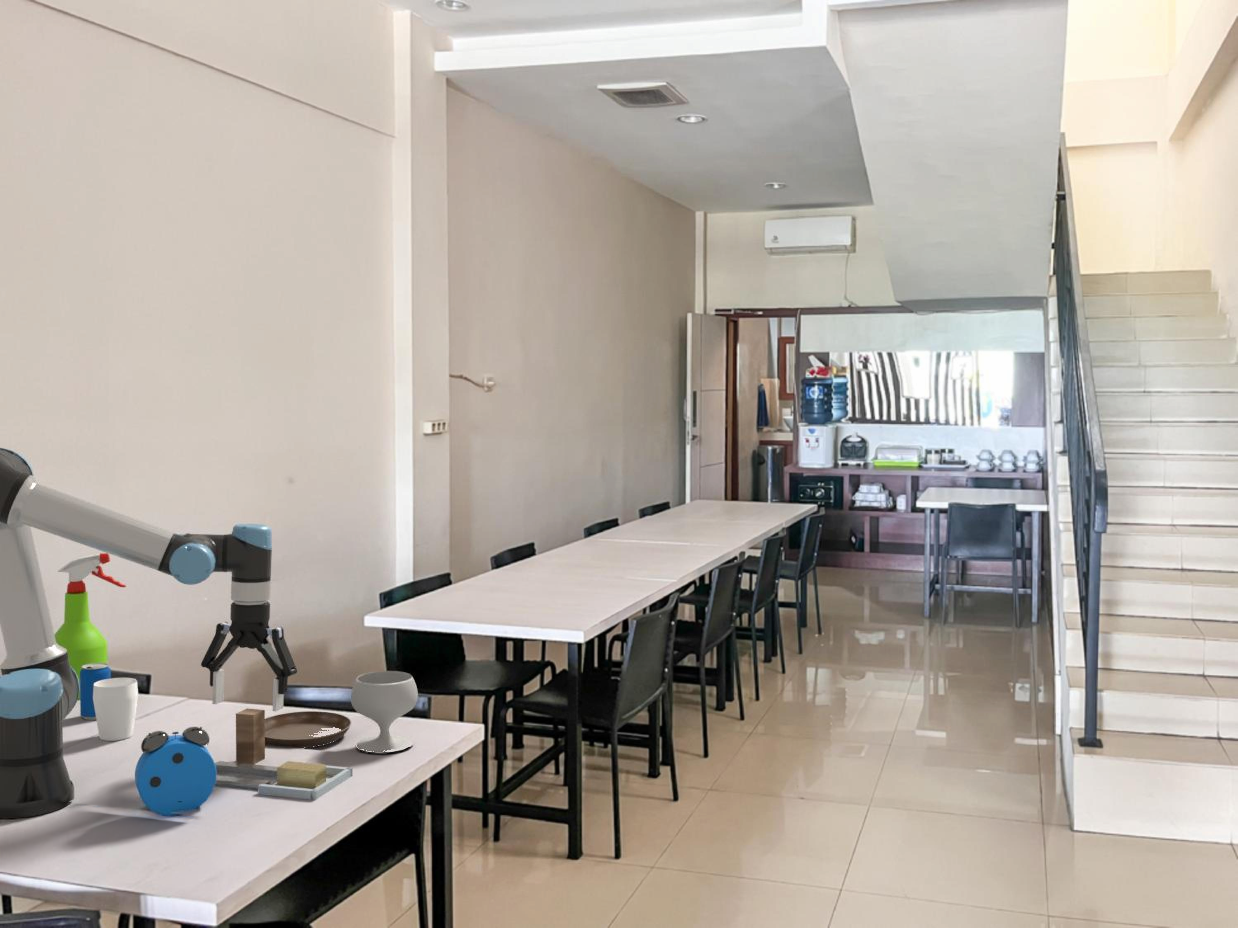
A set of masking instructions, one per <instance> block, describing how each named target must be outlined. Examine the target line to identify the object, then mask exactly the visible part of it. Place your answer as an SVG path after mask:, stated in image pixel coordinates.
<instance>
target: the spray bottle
mask: <svg viewBox="0 0 1238 928" xmlns="http://www.w3.org/2000/svg"><path fill="white" fill-rule="evenodd" d="M110 561H111V559H110V554H109V553H106V552H103V553H97V554H91V555H86V556H81V557H77V558H75V559H72V560H71V561H69V562H67V564H65V565H64V566H62V567H61V568H59V570H58V571H57V573H67V574H68V583H67V586H66V587H67V588H66V592H65V593H64V617H63V618H64V620H63V621H64V622H63V623H62V624H61V625H60V627H59V628H58V629H57V631H56V632H54V635H55V640H56V643H57V644H58V645H60V646H62V647H63V648H65V649H66V650H67V653H68V658H69V662H70V666H71V667H72V668H73V669H74V671H75V672H76V674H77V676H78V679H79V685H80V671H81V670H82V666H83V665H87V664H92V663H106V664H108V665H109V663H108V641H107V640H106V639H105V637H104V635H102V633H101V631H100V630H99V629H98V627H96V626H95V625H94V624H93V623H92V622H91V621H90V609H89V608H90V607H89V592H88V591H87V589H86V588H87V587H86V583H85V582H84V579H86V578H87V577H88V576H90V575H92V576H94V577H97V578H99V579H101V580H104V581H106V582H109V583H111V584H112V585H115V586H116V587H119V588H126V587H127V585H126V584H122V583H121V582H120V581H119V580H115V579H114V578H113V576H111V575H106V574H105V573H104V571H103V567H102V566H103V565H105V564H106V563H110ZM101 565H102V566H101ZM78 700H79V701H80V691H79V697H78ZM78 700H77V701H78Z"/></svg>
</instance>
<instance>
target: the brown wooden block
mask: <svg viewBox="0 0 1238 928" xmlns="http://www.w3.org/2000/svg"><path fill="white" fill-rule="evenodd" d="M265 711H266V710H265V709H257V708H245V709H243V710H241V711H238V712H236V713H235V763H244V764H254V765H257V764H258V763H259V762H262V761H264V760H265V759H266V743H265V719H266V715H265V714H266V712H265Z"/></svg>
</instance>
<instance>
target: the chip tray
mask: <svg viewBox="0 0 1238 928" xmlns="http://www.w3.org/2000/svg"><path fill="white" fill-rule="evenodd" d="M326 776H331V777H330V778H329V779H326V782H324V783H323V784H321V785H320V786H318V787H316V788H315V789H306V788H297V787H287V786H277V784H276V785H275V784H273V785H268V784H260V785H258V790H257V794H258V795H268V796H275V797H285V798H295V799H301V800H302V799H303V800H311V801H317V800H319V798H322V797H323V796H324V795H326V794H327V793H329V792H330V791H332V790H333V789H335V788H336V787H338V786H339V785H341V784H342V783H345V782H346V781H347V780H348V779H350V778H351V777H353V767H344V766H333V765H326Z"/></svg>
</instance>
